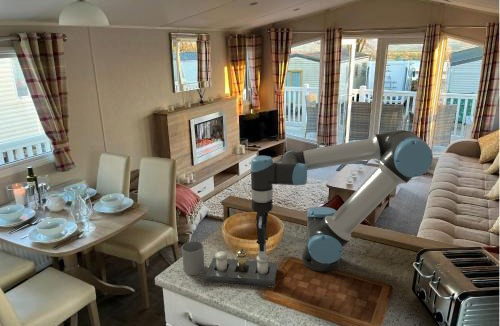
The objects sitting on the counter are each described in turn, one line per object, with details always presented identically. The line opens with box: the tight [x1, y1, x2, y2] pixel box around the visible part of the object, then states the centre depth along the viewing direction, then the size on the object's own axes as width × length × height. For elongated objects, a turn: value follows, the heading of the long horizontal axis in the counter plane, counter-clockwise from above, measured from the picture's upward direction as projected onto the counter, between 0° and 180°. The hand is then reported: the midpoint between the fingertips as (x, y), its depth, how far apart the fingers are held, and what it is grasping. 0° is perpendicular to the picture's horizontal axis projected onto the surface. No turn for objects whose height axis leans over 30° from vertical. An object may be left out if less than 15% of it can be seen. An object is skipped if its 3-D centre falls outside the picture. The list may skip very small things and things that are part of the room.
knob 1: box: [214, 251, 228, 271], centre depth 143 cm, size 5×5×8 cm
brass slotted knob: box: [235, 248, 248, 271], centre depth 141 cm, size 4×4×8 cm
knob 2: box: [256, 254, 270, 275], centre depth 141 cm, size 5×5×8 cm
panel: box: [204, 257, 278, 288], centre depth 143 cm, size 26×12×3 cm, turn 81°
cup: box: [181, 240, 206, 276], centre depth 147 cm, size 8×8×10 cm
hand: (262, 256), depth 140 cm, fingers closed
